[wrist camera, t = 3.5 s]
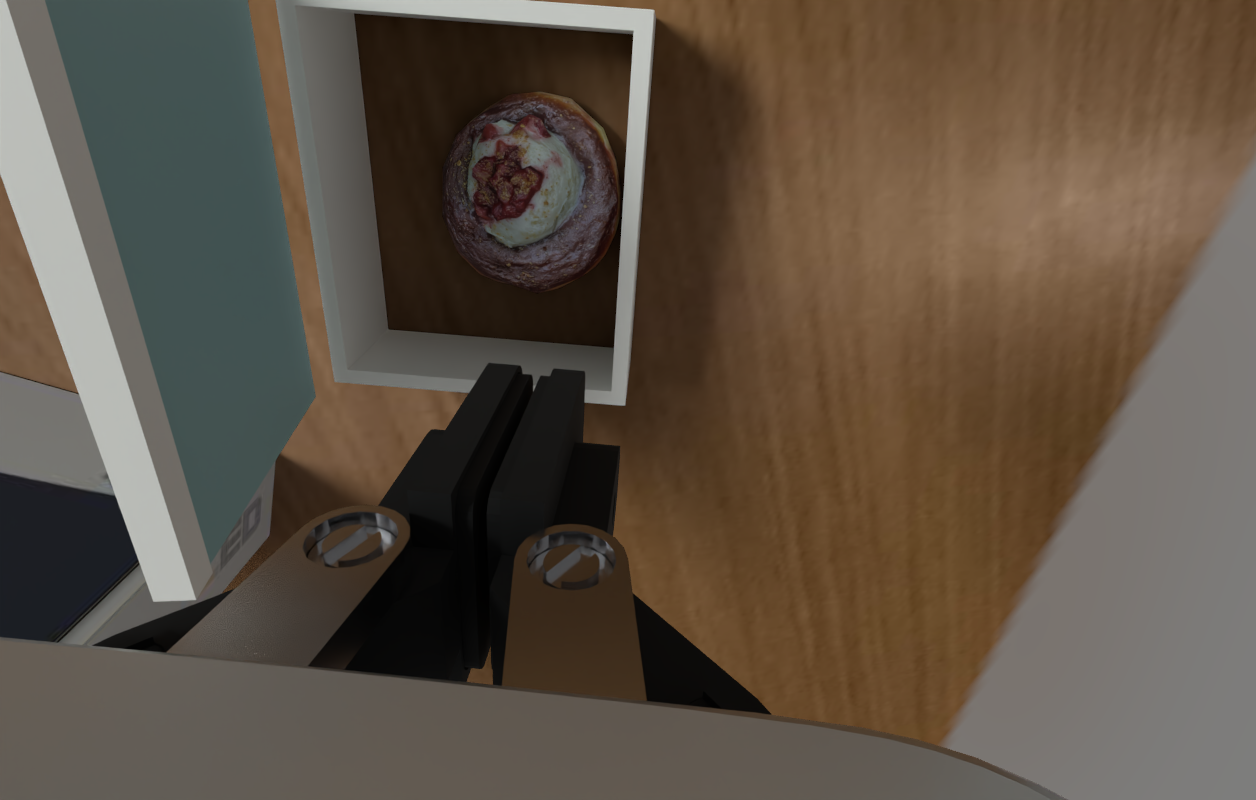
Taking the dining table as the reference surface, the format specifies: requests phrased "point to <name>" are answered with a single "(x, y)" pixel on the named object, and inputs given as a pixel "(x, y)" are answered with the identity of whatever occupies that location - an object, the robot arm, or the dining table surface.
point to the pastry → (532, 192)
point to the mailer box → (345, 209)
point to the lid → (159, 255)
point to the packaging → (81, 528)
